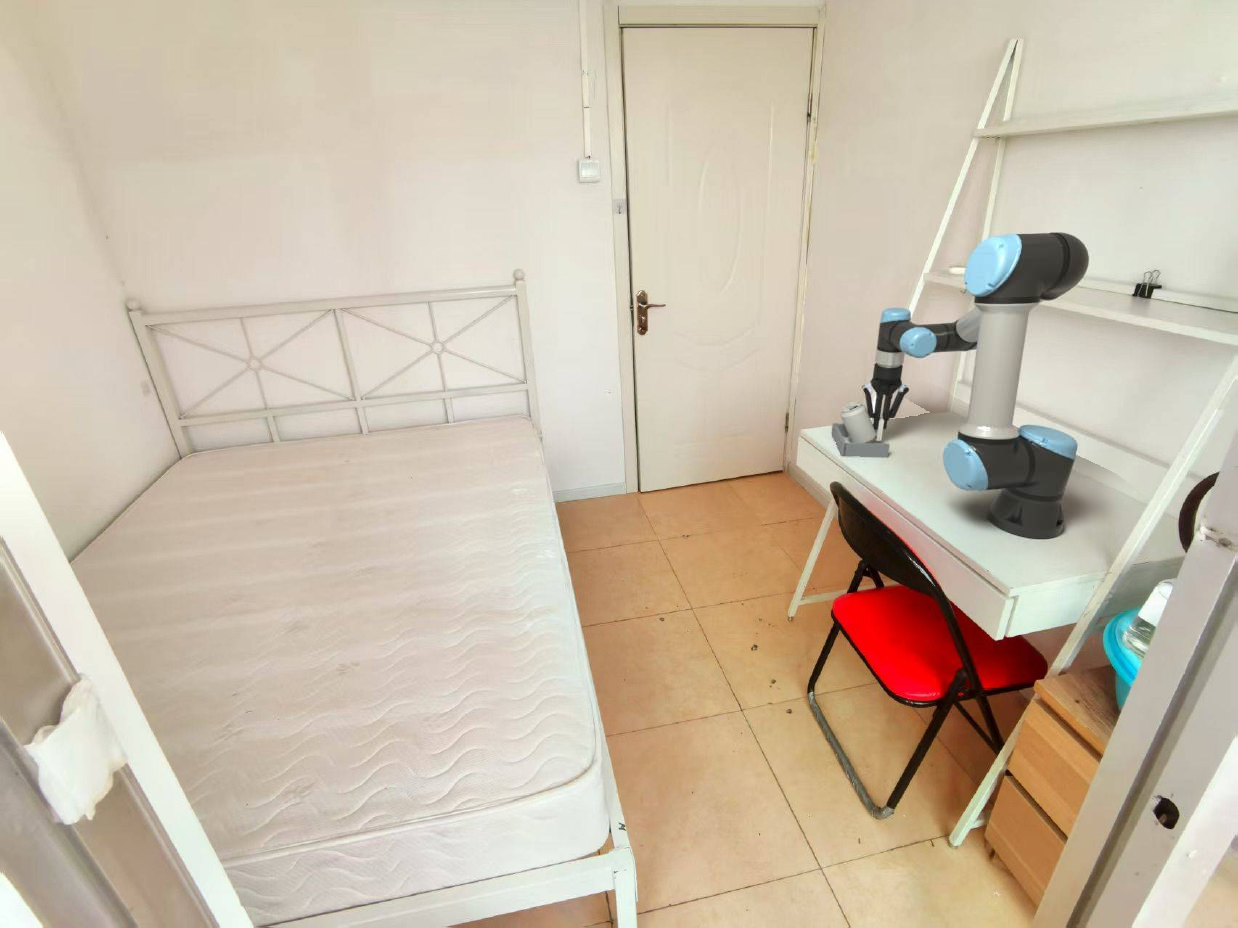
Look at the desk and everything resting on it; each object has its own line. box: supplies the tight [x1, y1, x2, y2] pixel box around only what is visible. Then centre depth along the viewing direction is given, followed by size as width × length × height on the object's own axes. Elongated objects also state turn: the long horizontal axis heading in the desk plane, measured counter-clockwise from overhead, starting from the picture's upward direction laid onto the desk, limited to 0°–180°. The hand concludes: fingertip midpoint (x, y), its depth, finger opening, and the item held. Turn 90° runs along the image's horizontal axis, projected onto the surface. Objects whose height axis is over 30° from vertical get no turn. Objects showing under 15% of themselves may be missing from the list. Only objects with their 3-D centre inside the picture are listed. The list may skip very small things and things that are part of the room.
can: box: [840, 401, 876, 443], centre depth 188 cm, size 8×8×12 cm
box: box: [831, 423, 891, 458], centre depth 190 cm, size 16×13×4 cm
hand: (877, 438), depth 190 cm, fingers closed
